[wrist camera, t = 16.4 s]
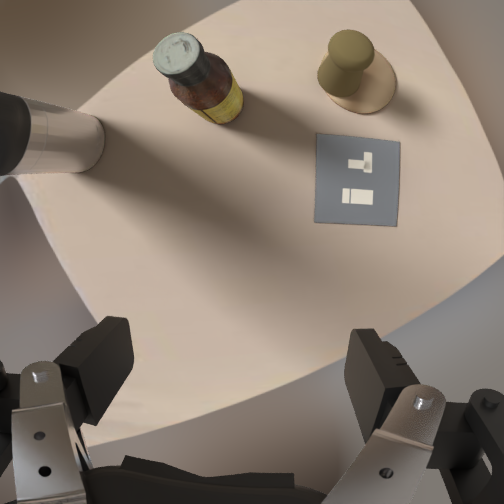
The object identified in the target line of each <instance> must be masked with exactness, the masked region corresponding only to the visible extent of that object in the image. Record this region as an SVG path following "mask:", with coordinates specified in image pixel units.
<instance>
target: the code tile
mask: <svg viewBox="0 0 504 504" xmlns="http://www.w3.org/2000/svg"><path fill="white" fill-rule="evenodd" d="M399 160H400V142H396V141H388V140H380V139H371V138H362V137H352V136H340V135H327V134H317V145H316V191H315V217H314V222H319V223H343V224H365V225H384V226H396V223H397V209H398V192H399Z"/></svg>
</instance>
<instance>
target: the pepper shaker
mask: <svg viewBox="0 0 504 504" xmlns="http://www.w3.org/2000/svg"><path fill="white" fill-rule="evenodd" d="M328 53H329V54H328V56H327V57H326V59H325V60H324V61H323V63H322V64H321V66H320V67H319V70H318V81H319V84H320V85H321V87H322V88H323V89H324V90H325V91H326V92H327V93H329V94H330V95H333V96H336V97H348V96H351V95H352V94H354V93H355V92H356V91H357V90H358V89H359V86H360V83H361V79H362V75H363V71H364V70H365V69H367V68H368V67H369V66H370V65H371V64H372V62H373V60H374V56H375V52H374V47H373V44H372V42H371V41H370V40H369V39H368V37H366V36H365V35H364V34H362V33H360V32H358V31H355V30H342V31H340V32H337V33H336V34H335V35H334V36H333V37H332V38H331V39H330V42H329V45H328Z"/></svg>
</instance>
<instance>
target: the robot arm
mask: <svg viewBox="0 0 504 504" xmlns="http://www.w3.org/2000/svg"><path fill="white" fill-rule="evenodd" d="M104 143H105V134H104V130H103V127H102V125H101V123H100V122H99V120H98V119H97V118H95V117H94V116H91V115H88V114H85V113H81V112H78V111H75V110H71V109H67V108H64V107H60V106H56V105H53V104H49V103H45V102H41V101H37V100H33V99H28V98H24V97H20V96H16V95H11V94H7V93H3V92H0V176H5V175H20V174H39V173H72V172H83V171H86V170H88V169H90V168H91V167H92V166H94V165H95V164H96V162H97V161H98V160H99V158H100V156H101V154H102V152H103V148H104ZM133 364H134V353H133V346H132V340H131V333H130V326H129V322H128V320H127V319H126V318H122V317H113V316H106V317H105V318H104V319H103V320H102V321H101V322H100V323H99V324H98V325H97V326H96V327H93V328H91V329H89V330H87V331H85V332H83V333H82V334H81V335H80V336H79V337H78V338H77V339H76V340H75V341H74V342H73V343H72V344H71V345H70V346H68V347H67V348H66V349H65V350H64V351H63V352H62V353H61V354H60V355H59V356H58V357H57V358H56V359H55V360H54V361H53V362H51V361H38V362H34V363H32V364H30V365H28V366H26V367H25V368H24V369H23V370H22V372H21V374H9V373H6V372H5V369H4V366H3V363H2V362H1V361H0V477H1V475H2V474H3V472H4V471H5V469H6V468H7V466H8V464H9V463H10V461H11V460H12V459H13V467H14V478H15V486H16V494H17V500H14V501H11V502H8V503H5V504H410V502H411V500H412V498H413V496H414V494H415V492H416V490H417V487H418V485H419V483H420V481H421V478H422V476H423V474H424V471H425V469H426V468H429V469H439V470H440V473H441V476H442V478H443V481H444V483H445V486H446V489H447V491H448V494H449V497H450V499H451V502H452V504H504V395H503V394H501V393H500V392H498V391H495V390H492V389H479V390H476V391H475V392H474V393H473V394H472V395H471V397H470V400H469V402H468V403H453V402H446V399H445V396H444V395H443V394H442V392H440V391H439V390H438V389H436V388H434V387H431V386H428V385H423V384H420V382H419V381H418V379H417V377H416V376H415V374H414V373H413V372H412V370H411V368H410V367H409V365H407V362H406V361H405V359H404V358H402V355H401V353H400V352H399V350H398V349H397V348H396V347H394V346H393V345H391V344H390V343H389V342H387V341H385V342H382V341H381V339H380V338H379V336H378V334H377V333H376V331H375V330H374V329H353V330H352V332H351V335H350V341H349V346H348V352H347V358H346V363H345V370H344V376H345V377H344V378H345V384H346V386H347V390H348V392H349V396H350V399H351V402H352V405H353V408H354V410H355V414H356V417H357V420H358V423H359V426H360V429H361V432H362V436H363V439H364V442H365V446H364V447H363V449H362V450H361V452H360V453H359V454H358V456H357V457H356V459H355V460H354V462H353V463H352V464H351V466H350V467H349V468H348V470H347V471H346V473H345V474H344V475H343V477H342V478H341V479H340V480H339V482H338V483H337V484H336V486H335V487H334V488H333V489H332V491H331V492H330V493H329V495H326V494H324V493H322V492H320V491H317V490H314V489H311V488H308V487H304V486H300V485H295V484H294V474H293V473H243V474H235V475H227V476H217V477H202V476H198V475H195V474H192V473H189V472H186V471H184V470H181V469H178V468H175V467H173V466H170V465H167V464H165V463H161V462H155V461H150V460H145V459H140V458H136V457H131V456H127V455H125V458H124V460H123V462H122V464H121V466H105V467H98V468H93V465H92V462H91V459H90V456H89V453H88V449H87V446H86V443H85V439H84V436H83V433H82V430H81V428H80V426H81V425H82V423H87V424H91V425H94V426H97V424H98V422H99V421H100V419H101V418H102V416H103V414H104V413H105V411H106V410H107V408H108V407H109V405H110V403H111V402H112V400H113V399H114V397H115V396H116V394H117V392H118V391H119V389H120V388H121V386H122V385H123V383H124V381H125V380H126V378H127V377H128V375H129V374H130V372H131V371H132V368H133ZM484 453H486V455H487V457H488V459H489V461H490V463H491V465H492V475H491V474H490V472H489V470H488V468H487V466H486V465H485V463H484V461H483V459H482V456H483V455H484Z"/></svg>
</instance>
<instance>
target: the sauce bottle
mask: <svg viewBox="0 0 504 504" xmlns="http://www.w3.org/2000/svg"><path fill="white" fill-rule="evenodd" d="M153 62H154V65H155V67H156V69H157V70H158V71H159V72H160V73H162V74H163V75H164V76H166V77H168V78H169V84H170V89H171V91H172V93H173V94H174V96H175V97H177V98H178V99H179V100H180V101H181V102H182V103H183V104H184V105H185V106H187V107H188V108H190V109H191V110H193V111H194V112H195V113H197V114H198V115H200V116H201V117H202V118H204V119H205V120H207V121H209V122H212V123H217V124H225V123H228V122H230V121H232V120H234V119H235V118H237V117H238V115H239V114H240V112H241V110H242V107H243V103H244V102H243V95H242V92H241V90H240V88H239V86H238V84H237V82H236V80H235V78H234V76H233V74H232V73H231V70H230V69H229V67H228V65H227V64H226V63H225V62H224V60H223V59H221V58H220V57H219V56H217V55H215V54H212V53H208V52H204V49H203V46H202V44H201V43H200V42H199V41H198V40H197V39H196V38H195V37H194V36H193V35H191V34H188V33H183V32H178V33H173V34H171V35H169V36H167V37H165V38H164V39H163V40H162V41H161V42H160V43H159V44H158V45H157V46H156V48H155V51H154V53H153Z"/></svg>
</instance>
